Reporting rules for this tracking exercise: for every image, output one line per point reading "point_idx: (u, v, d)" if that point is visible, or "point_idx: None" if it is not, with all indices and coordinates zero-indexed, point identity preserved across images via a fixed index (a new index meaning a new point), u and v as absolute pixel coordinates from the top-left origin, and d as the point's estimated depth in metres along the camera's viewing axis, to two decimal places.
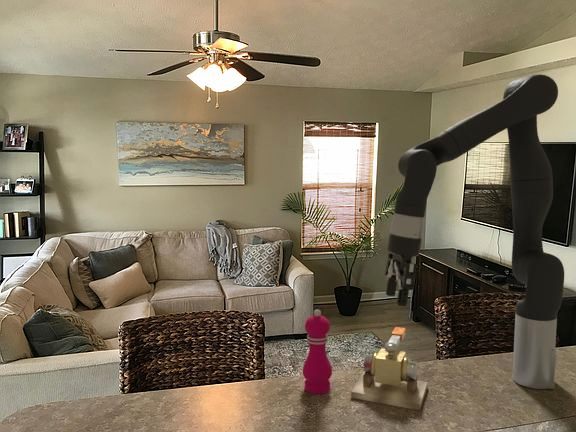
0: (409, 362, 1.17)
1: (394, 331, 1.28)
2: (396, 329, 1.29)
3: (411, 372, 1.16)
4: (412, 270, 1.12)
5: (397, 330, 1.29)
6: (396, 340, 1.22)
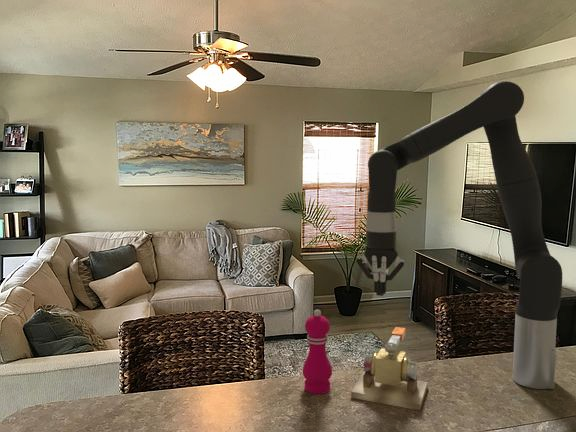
0: (409, 362, 1.17)
1: (394, 331, 1.28)
2: (396, 329, 1.29)
3: (411, 372, 1.16)
4: None
5: (397, 330, 1.29)
6: (396, 340, 1.22)
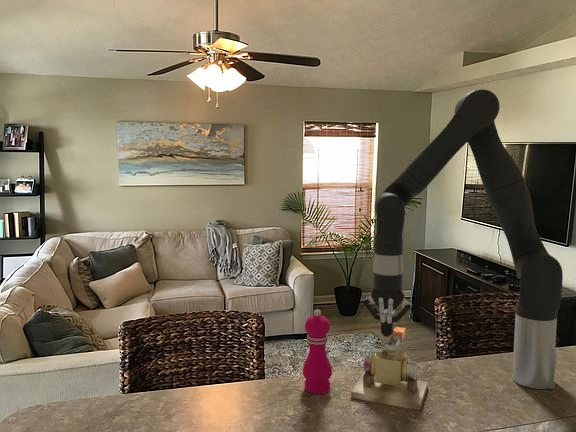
0: (409, 362, 1.17)
1: (394, 331, 1.28)
2: (396, 329, 1.29)
3: (411, 372, 1.16)
4: None
5: (398, 330, 1.29)
6: (396, 340, 1.22)
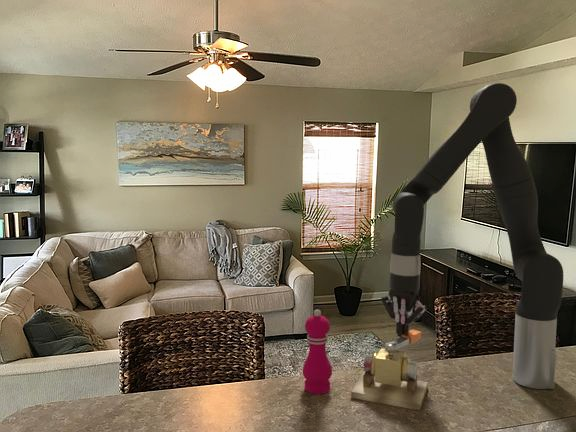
0: (409, 362, 1.17)
1: (406, 333, 1.26)
2: (410, 331, 1.27)
3: (411, 372, 1.16)
4: (422, 312, 1.24)
5: (411, 332, 1.27)
6: (401, 341, 1.21)
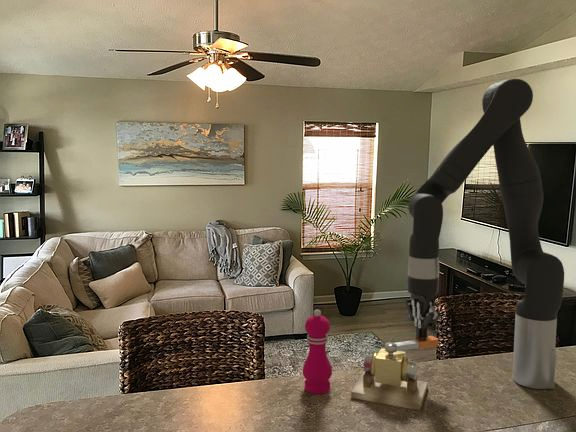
0: (409, 362, 1.17)
1: (420, 338, 1.23)
2: (427, 337, 1.23)
3: (411, 372, 1.16)
4: (435, 318, 1.20)
5: (427, 338, 1.23)
6: (405, 344, 1.20)
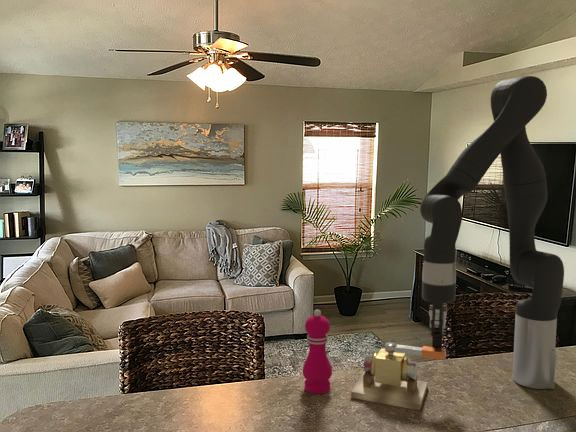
0: (409, 362, 1.17)
1: (429, 347, 1.17)
2: (437, 348, 1.16)
3: (411, 372, 1.16)
4: (438, 327, 1.12)
5: (435, 349, 1.16)
6: (405, 348, 1.17)
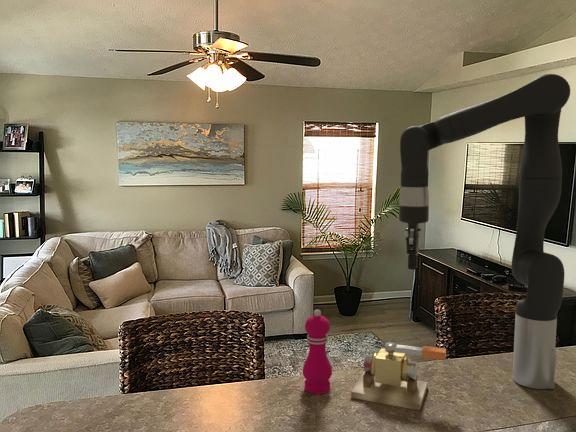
0: (409, 362, 1.17)
1: (429, 347, 1.17)
2: (437, 348, 1.16)
3: (411, 372, 1.16)
4: (412, 243, 1.26)
5: (435, 349, 1.16)
6: (405, 348, 1.17)
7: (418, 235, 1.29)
